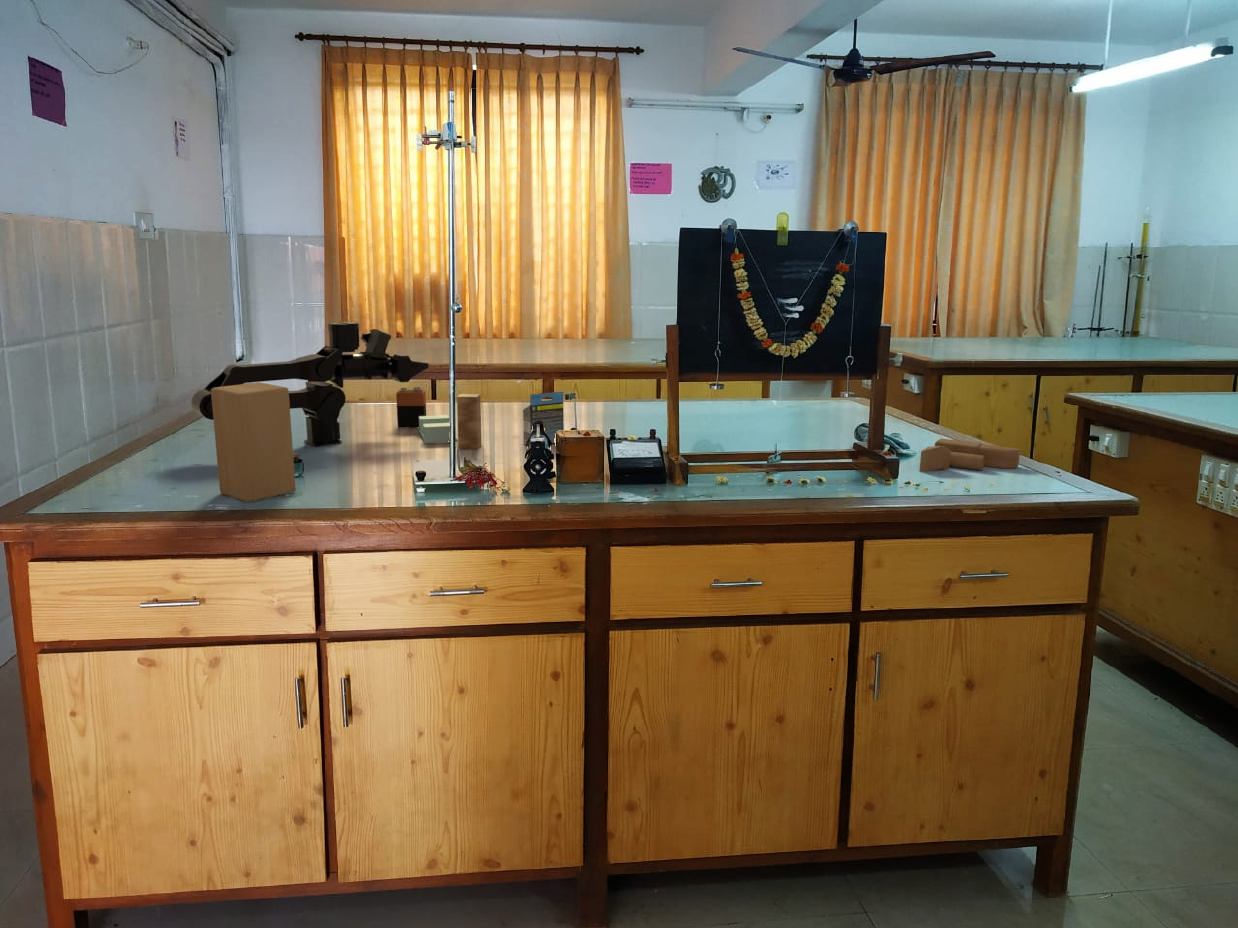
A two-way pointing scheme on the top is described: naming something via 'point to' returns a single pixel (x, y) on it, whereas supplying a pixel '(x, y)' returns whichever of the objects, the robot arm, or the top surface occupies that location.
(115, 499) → the top surface
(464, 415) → the slat
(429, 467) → the top surface
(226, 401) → the wooden block
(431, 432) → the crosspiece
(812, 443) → the top surface
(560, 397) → the label tape cartridge
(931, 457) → the wooden block set
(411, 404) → the battery
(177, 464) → the top surface
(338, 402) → the robot arm
